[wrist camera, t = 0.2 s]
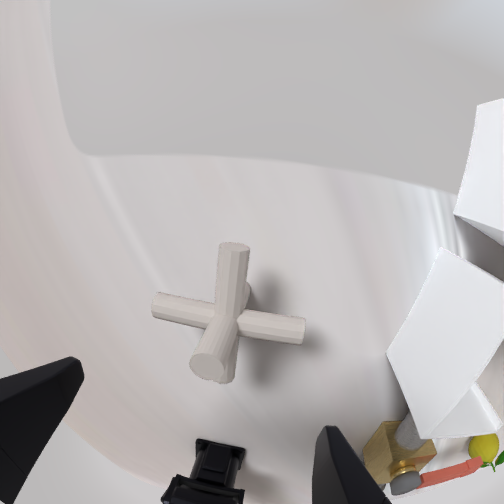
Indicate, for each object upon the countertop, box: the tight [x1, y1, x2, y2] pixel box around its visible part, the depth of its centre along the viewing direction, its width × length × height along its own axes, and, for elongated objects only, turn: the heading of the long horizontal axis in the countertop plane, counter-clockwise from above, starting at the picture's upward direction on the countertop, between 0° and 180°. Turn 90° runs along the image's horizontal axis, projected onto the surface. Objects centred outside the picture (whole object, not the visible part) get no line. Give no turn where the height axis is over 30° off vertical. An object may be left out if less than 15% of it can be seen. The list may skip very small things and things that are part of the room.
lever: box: [390, 456, 484, 495], centre depth 17 cm, size 15×4×2 cm, turn 82°
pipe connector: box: [151, 242, 306, 384], centre depth 18 cm, size 10×10×10 cm
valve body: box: [363, 411, 437, 491], centre depth 22 cm, size 20×6×7 cm, turn 172°
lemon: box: [468, 433, 504, 472], centre depth 20 cm, size 7×6×10 cm
